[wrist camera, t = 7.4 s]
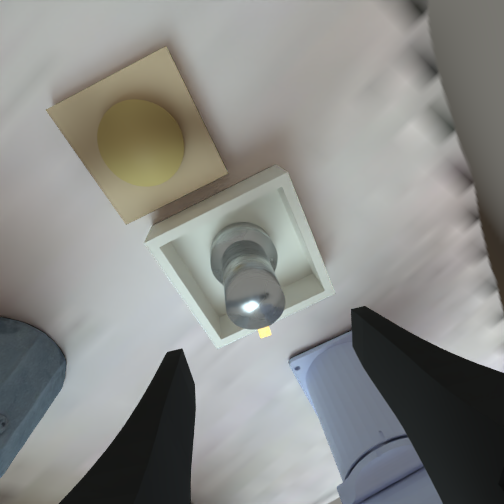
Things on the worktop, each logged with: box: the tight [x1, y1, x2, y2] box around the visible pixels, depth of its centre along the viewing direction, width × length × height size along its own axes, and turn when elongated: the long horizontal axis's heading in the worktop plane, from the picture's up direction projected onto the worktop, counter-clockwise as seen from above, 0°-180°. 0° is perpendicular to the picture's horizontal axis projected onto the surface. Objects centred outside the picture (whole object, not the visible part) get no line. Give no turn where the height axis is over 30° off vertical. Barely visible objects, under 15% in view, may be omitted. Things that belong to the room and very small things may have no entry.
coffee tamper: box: [210, 222, 285, 338], centre depth 18 cm, size 4×4×6 cm
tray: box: [144, 165, 336, 349], centre depth 20 cm, size 9×9×3 cm
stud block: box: [46, 46, 228, 225], centre depth 17 cm, size 7×7×2 cm
